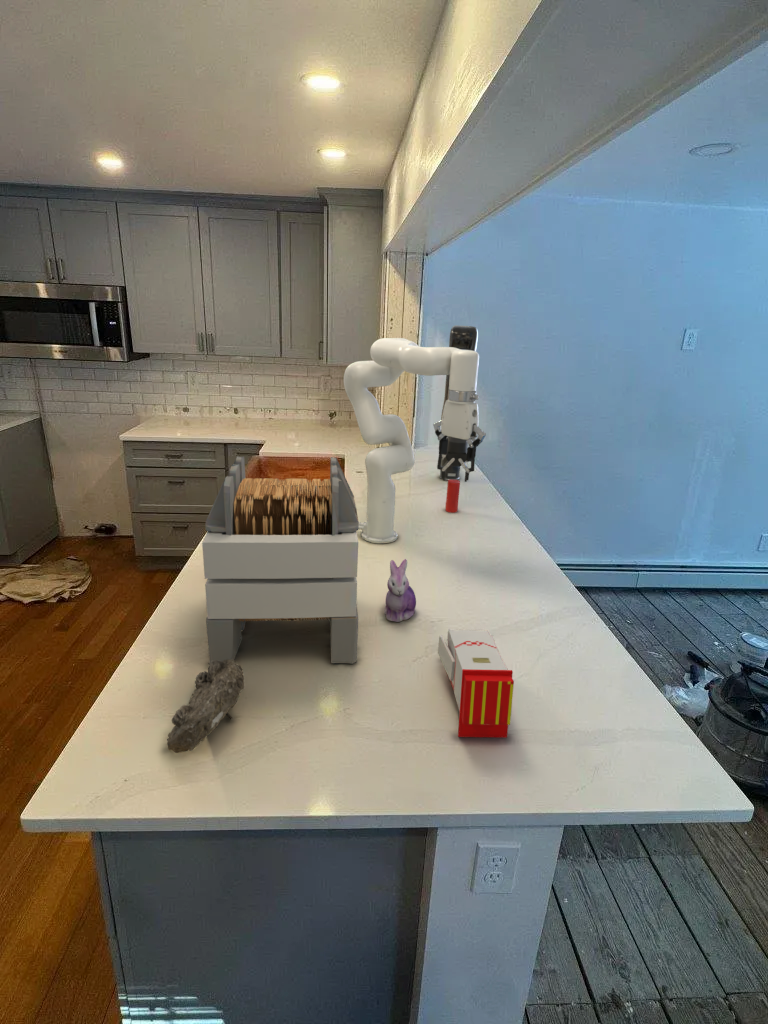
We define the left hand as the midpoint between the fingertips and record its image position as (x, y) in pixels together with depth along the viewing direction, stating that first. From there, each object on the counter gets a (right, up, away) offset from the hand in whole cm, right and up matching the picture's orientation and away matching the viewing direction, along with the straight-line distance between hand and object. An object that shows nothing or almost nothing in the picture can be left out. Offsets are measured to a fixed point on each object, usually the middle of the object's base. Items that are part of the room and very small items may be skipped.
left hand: (456, 457), depth 162 cm
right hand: (+7, -3, +60) cm, 60 cm away
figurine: (-17, -42, -14) cm, 48 cm away
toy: (-3, -53, -43) cm, 69 cm away
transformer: (-44, -44, -22) cm, 66 cm away
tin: (+6, -15, +64) cm, 66 cm away
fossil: (-53, -55, -54) cm, 93 cm away
